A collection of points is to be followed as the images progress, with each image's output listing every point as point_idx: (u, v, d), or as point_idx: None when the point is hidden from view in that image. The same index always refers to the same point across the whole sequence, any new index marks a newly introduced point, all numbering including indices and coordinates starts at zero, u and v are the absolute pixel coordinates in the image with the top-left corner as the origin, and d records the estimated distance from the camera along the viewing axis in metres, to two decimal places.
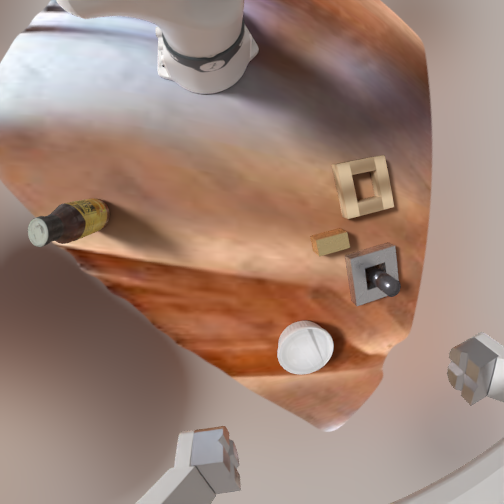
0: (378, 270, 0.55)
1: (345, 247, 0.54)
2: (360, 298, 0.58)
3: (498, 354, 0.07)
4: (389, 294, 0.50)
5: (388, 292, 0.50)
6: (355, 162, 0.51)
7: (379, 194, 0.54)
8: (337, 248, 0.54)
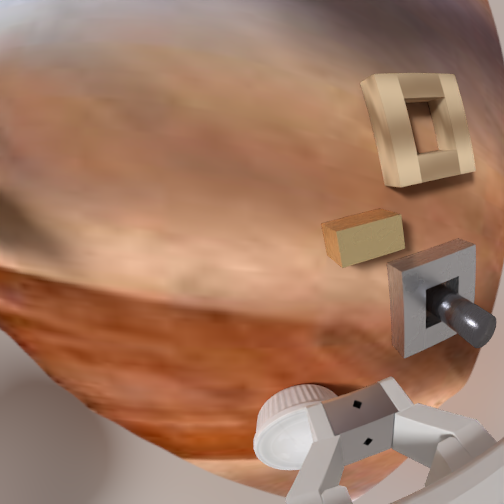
0: (450, 292, 0.25)
1: (396, 248, 0.24)
2: (412, 344, 0.28)
3: (398, 409, 0.07)
4: (477, 344, 0.20)
5: (476, 341, 0.20)
6: (408, 76, 0.21)
7: (451, 144, 0.23)
8: (380, 250, 0.24)
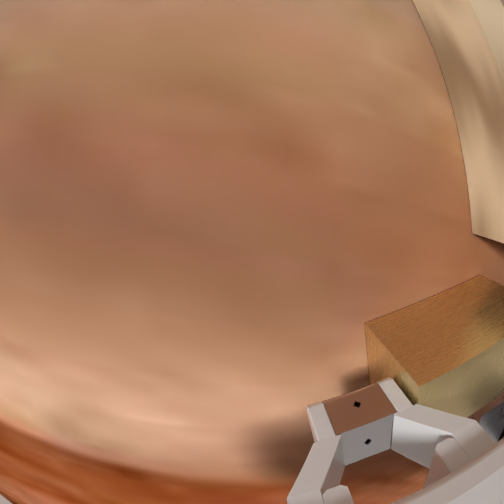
0: None
1: None
2: None
3: (397, 409, 0.07)
4: None
5: None
6: None
7: None
8: (494, 391, 0.07)
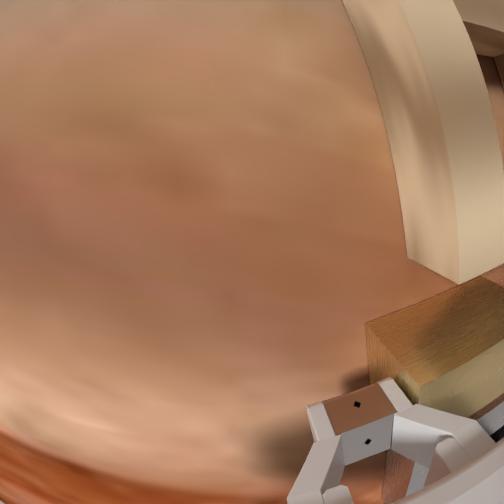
0: None
1: None
2: None
3: (397, 409, 0.07)
4: None
5: None
6: None
7: None
8: (493, 392, 0.07)
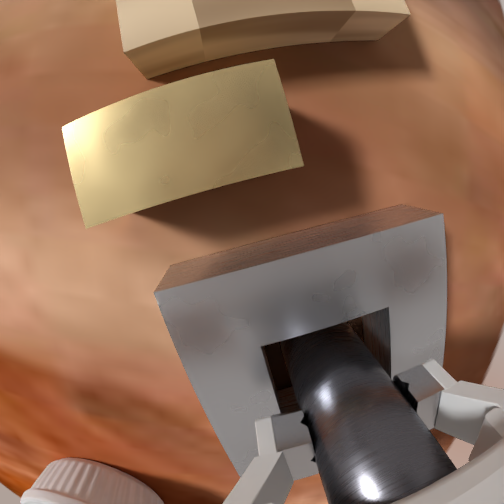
0: (343, 362, 0.09)
1: (268, 162, 0.07)
2: None
3: (444, 387, 0.07)
4: None
5: None
6: None
7: None
8: (205, 169, 0.07)
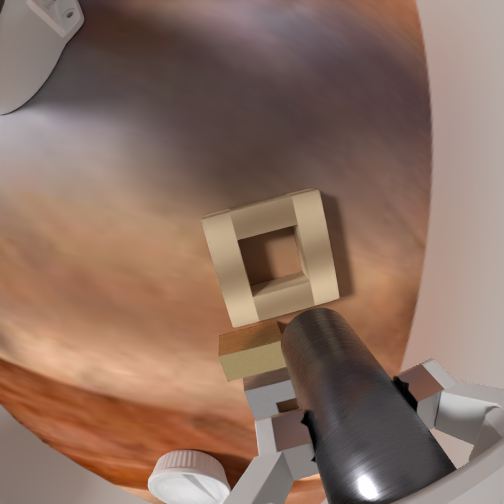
0: (344, 363, 0.09)
1: (280, 366, 0.27)
2: None
3: (444, 387, 0.07)
4: None
5: None
6: (245, 211, 0.25)
7: (307, 274, 0.27)
8: (263, 368, 0.27)
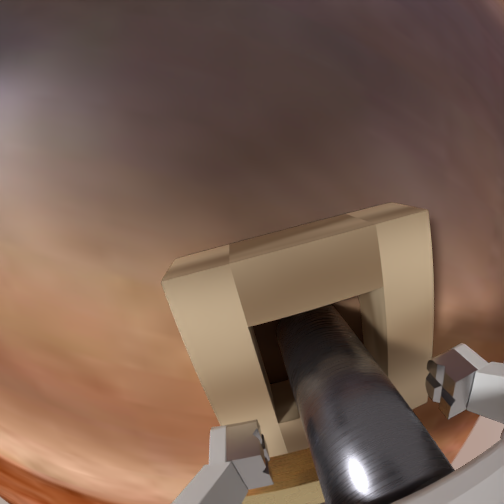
0: (332, 347, 0.10)
1: (317, 502, 0.13)
2: None
3: (477, 368, 0.07)
4: None
5: None
6: (269, 262, 0.10)
7: None
8: None
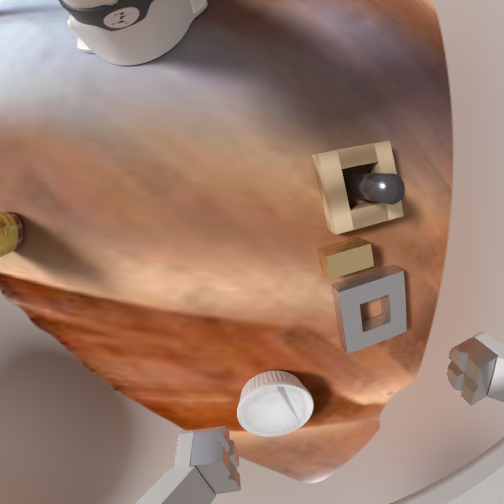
0: (366, 173, 0.34)
1: (367, 265, 0.37)
2: (352, 343, 0.41)
3: (498, 354, 0.07)
4: (386, 200, 0.29)
5: (385, 196, 0.29)
6: (346, 150, 0.34)
7: None
8: (356, 267, 0.37)
